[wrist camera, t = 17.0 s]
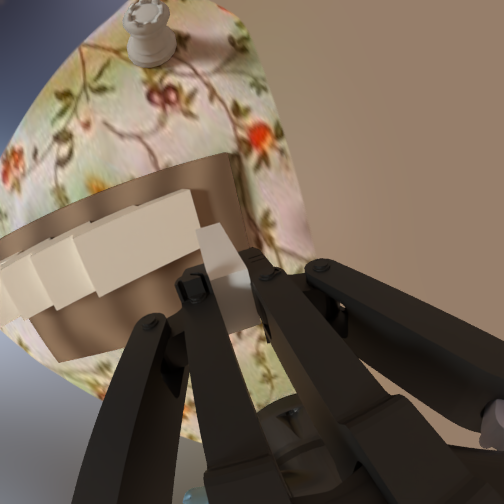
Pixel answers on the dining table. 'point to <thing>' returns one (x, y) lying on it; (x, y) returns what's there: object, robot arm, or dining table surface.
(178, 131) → the dining table surface
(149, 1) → the rook chess piece
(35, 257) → the domino
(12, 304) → the domino
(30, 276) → the domino
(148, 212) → the domino
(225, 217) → the walnut board
